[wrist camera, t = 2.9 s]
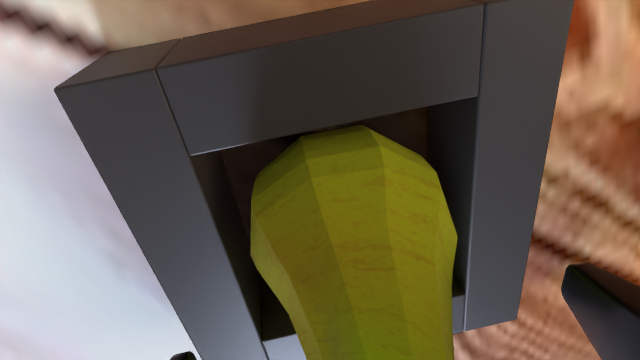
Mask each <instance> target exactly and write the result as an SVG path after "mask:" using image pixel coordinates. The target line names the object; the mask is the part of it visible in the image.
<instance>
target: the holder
mask: <svg viewBox="0 0 640 360" xmlns="http://www.w3.org/2000/svg"><path fill="white" fill-rule="evenodd" d="M573 4H574V0H373V1H368V2H363V3H358V4H352V5H347V6H342V7H337V8H332V9H327V10H322V11H317V12H312V13H307V14H301V15H296V16H291V17H286V18H281V19H276V20H271V21H266V22H261V23H256V24H250V25H245V26H240V27H235V28H230V29H225V30H220V31H215V32H210V33H205V34H199V35H194V36H189V37H184V38H182V39H174V40H169V41H164V42H159V43H154V44H149V45H144V46H138V47H133V48H128V49H123V50H118V51H113V52H108V53H107V54H105V55H104V56H102V57H101V58H99V59H98V60H96V61H95V62H93V63H92V64H90V65H89V66H87V67H86V68H84V69H83V70H81V71H80V72H78V73H77V74H75V75H74V76H72V77H71V78H69V79H68V80H66V81H65V82H63V83H62V84H60V85H59V86H57V87H56V88H54V92H55V93H56V95H57V97H58V99H59V101H60V103H61V104H62V106H63V108H64V110H65V112H66V113H67V115H68V117H69V119H70V121H71V123H72V124H73V126H74V128H75V130H76V132H77V133H78V135H79V137H80V139H81V141H82V143H83V144H84V146H85V148H86V150H87V152H88V153H89V155H90V157H91V159H92V161H93V163H94V164H95V166H96V168H97V170H98V172H99V173H100V175H101V177H102V179H103V181H104V183H105V184H106V186H107V188H108V190H109V192H110V193H111V195H112V197H113V199H114V201H115V203H116V204H117V206H118V208H119V210H120V212H121V213H122V215H123V217H124V219H125V221H126V223H127V224H128V226H129V228H130V230H131V232H132V233H133V235H134V237H135V239H136V241H137V242H138V244H139V246H140V248H141V250H142V252H143V253H144V255H145V257H146V259H147V261H148V262H149V264H150V266H151V268H152V270H153V272H154V273H155V275H156V277H157V279H158V281H159V282H160V284H161V286H162V288H163V290H164V292H165V293H166V295H167V297H168V299H169V301H170V302H171V304H172V306H173V308H174V310H175V312H176V313H177V315H178V317H179V319H180V321H181V322H182V324H183V326H184V328H185V330H186V332H187V333H188V335H189V337H190V339H191V341H192V342H193V344H194V346H195V348H196V350H197V352H198V353H199V355H200V357H201V359H202V360H307V359H306V356H305V354H304V351H303V349H302V346H301V344H300V341H299V339H298V336H297V334H296V331H295V329H294V326H293V324H292V321H291V319H290V316H289V314H288V313H287V311H286V310H285V308H284V307H283V305H282V304H281V302H280V301H279V299H278V298H277V296H276V295H275V294H274V292H273V291H272V289H271V288H270V287H269V285H268V284H267V282H266V281H265V280H264V278H263V277H262V276H261V274H260V273H259V271H258V270H257V268H256V266H255V264H254V261H253V259H252V257H251V255H250V249H251V242H250V239H249V236H248V233H247V230H246V227H245V224H244V221H243V218H242V216H241V213H240V210H239V207H238V204H237V201H236V198H235V195H234V192H233V189H232V186H231V183H230V180H229V177H228V174H227V171H226V168H225V165H224V163H223V160H222V157H221V154H220V151H219V150H221V149H226V148H231V147H236V146H240V145H245V144H250V143H255V142H260V141H264V140H269V139H274V138H279V137H283V136H288V135H293V134H298V133H303V132H307V131H312V130H317V129H322V128H327V127H331V126H336V125H341V124H346V123H350V122H355V121H360V120H365V119H370V118H374V117H379V116H384V115H389V114H394V113H398V112H403V111H408V110H413V109H417V108H422V107H427V106H428V163H429V165H430V166H431V167H432V168H433V169H434V170H435V171H436V173H437V176H438V179H439V182H440V185H441V188H442V191H443V194H444V197H445V200H446V203H447V206H448V209H449V212H450V215H451V218H452V221H453V224H454V227H455V230H456V233H457V237H458V239H457V245H456V252H455V258H454V264H453V275H452V320H453V334H458V333H462V332H463V331H468V330H473V329H477V328H481V327H485V326H490V325H494V324H498V323H502V322H507V321H511V320H515V319H516V318H517V314H518V308H519V303H520V297H521V292H522V286H523V281H524V275H525V269H526V264H527V258H528V253H529V247H530V242H531V236H532V231H533V225H534V220H535V214H536V209H537V203H538V198H539V192H540V187H541V181H542V176H543V170H544V164H545V159H546V153H547V148H548V142H549V137H550V131H551V126H552V120H553V115H554V109H555V104H556V98H557V93H558V87H559V82H560V76H561V71H562V65H563V60H564V54H565V48H566V43H567V37H568V32H569V26H570V21H571V15H572V10H573Z"/></svg>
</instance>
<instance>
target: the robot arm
mask: <svg viewBox="0 0 640 360" xmlns="http://www.w3.org/2000/svg"><path fill="white" fill-rule="evenodd" d="M561 291H562V295H563V297H564V299H565V301H566V303H567V304H568V306H569V308H570V309H571V311H572V312H573V314H574V316H575V317H576V319H577V321H578V322H579V324H580V325H581V327H582V329H583V330H584V332H585V334H586V335H587V337H588V339H589V340H590V342H591V343H592V345H593V347H594V348H595V350H596V351H597V353H598V354H599V356H600V358H601V359H602V360H640V286H639V285H637V284H634V283H632V282H630V281H628V280H626V279H624V278H621V277H619V276H617V275H615V274H613V273H611V272H609V271H606V270H604V269H602V268H600V267H598V266H596V265H593V264H591V263H589V262H579V263H575V264H571V265H569V266H568V267H567V268H566V271H565V275H564V279H563V283H562V287H561ZM170 360H197V359H196V357H195V356H194V354H193V353H192V352H190V351H189V352H184V353H180V354H176V355H174V356H173V357H172V358H171V359H170Z"/></svg>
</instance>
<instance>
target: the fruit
mask: <svg viewBox="0 0 640 360" xmlns="http://www.w3.org/2000/svg"><path fill="white" fill-rule="evenodd" d="M457 239H458V237H457V233H456V230H455V227H454V224H453V221H452V218H451V215H450V212H449V209H448V206H447V203H446V200H445V197H444V194H443V191H442V188H441V185H440V182H439V179H438V176H437V173H436V171H435V170H434V169H433V168H432V167H431V166H430V165H429V163H428V162H427V161H426V160H425V159H424V158H423V157H422V156H421V155H419V154H417V153H416V152H414V151H412V150H410V149H408V148H406V147H404V146H402V145H400V144H398V143H396V142H394V141H392V140H390V139H388V138H386V137H384V136H383V135H381V134H379V133H377V132H375V131H373V130H371V129H369V128H367V127H365V126H363V125H355V126H350V127H345V128H340V129H335V130H330V131H325V132H319V133H314V134H309V135H304V136H300V137H299V138H298V139H297V140H296V141H295V142H294V143H292V144H291V145H290V146H289V147H288V148H287V149H286V150H284V151H283V152H282V153H281V154H280V155H279V156H278V157H276V158H275V159H274V160H273V161H272V162H271V163H270V164H268V165H267V166H266V167H265V168H264V169H263V170H262V171H260V172H259V173H258V175H257V177H256V180H255V182H254V187H253V193H252V198H251V249H250V255H251V257H252V259H253V261H254V264H255V266H256V268H257V270H258V271H259V273H260V274H261V276H262V277H263V278H264V280H265V281H266V282H267V284H268V285H269V287H270V288H271V289H272V291H273V292H274V294H275V295H276V296H277V298H278V299H279V301H280V302H281V304H282V305H283V307H284V308H285V310H286V311H287V313H288V314H289V316H290V319H291V321H292V324H293V326H294V329H295V331H296V334H297V336H298V339H299V341H300V344H301V346H302V349H303V351H304V354H305V356H306V359H307V360H454V347H453V320H452V275H453V264H454V258H455V252H456V245H457Z"/></svg>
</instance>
